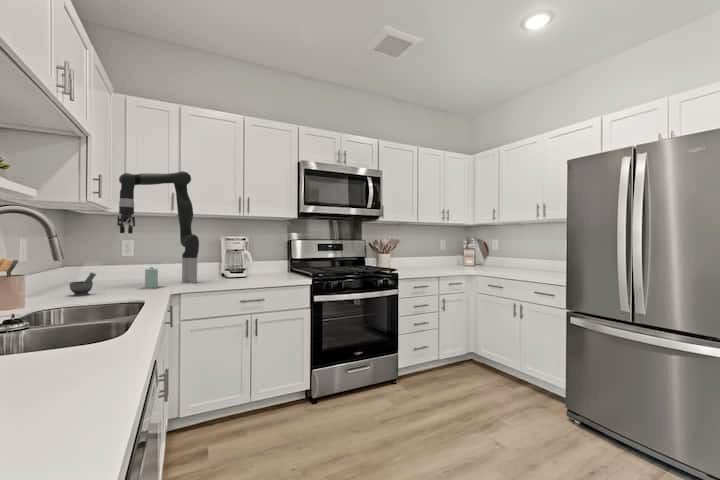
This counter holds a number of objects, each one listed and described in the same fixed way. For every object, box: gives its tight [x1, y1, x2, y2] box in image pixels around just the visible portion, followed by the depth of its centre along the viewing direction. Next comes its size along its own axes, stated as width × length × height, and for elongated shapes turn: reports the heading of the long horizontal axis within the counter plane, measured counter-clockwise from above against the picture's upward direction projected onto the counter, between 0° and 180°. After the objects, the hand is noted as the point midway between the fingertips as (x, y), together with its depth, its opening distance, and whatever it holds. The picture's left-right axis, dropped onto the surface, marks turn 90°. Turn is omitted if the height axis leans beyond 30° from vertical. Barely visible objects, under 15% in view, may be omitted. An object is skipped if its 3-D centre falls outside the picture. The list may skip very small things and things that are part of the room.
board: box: [138, 285, 167, 290], centre depth 206 cm, size 13×11×1 cm
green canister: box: [144, 266, 159, 288], centre depth 206 cm, size 6×6×12 cm
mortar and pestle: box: [69, 272, 97, 297], centre depth 183 cm, size 11×9×12 cm
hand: (126, 233), depth 211 cm, fingers open, 8 cm apart
